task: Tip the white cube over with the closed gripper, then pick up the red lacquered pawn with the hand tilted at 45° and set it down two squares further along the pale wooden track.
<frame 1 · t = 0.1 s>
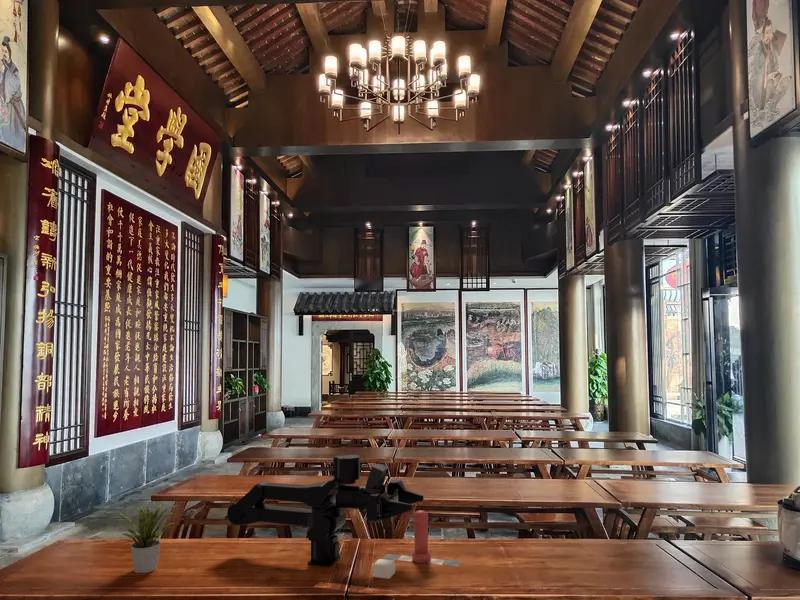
hand: (417, 502, 153), 17 cm above the table, tool horizontal, fingers open, 9 cm apart
track board: (421, 564, 157), on the table
house plant: (150, 570, 156), on the table
pawn: (421, 560, 157), point 1 cm above the table, touching track board
white cube: (384, 579, 147), on the table
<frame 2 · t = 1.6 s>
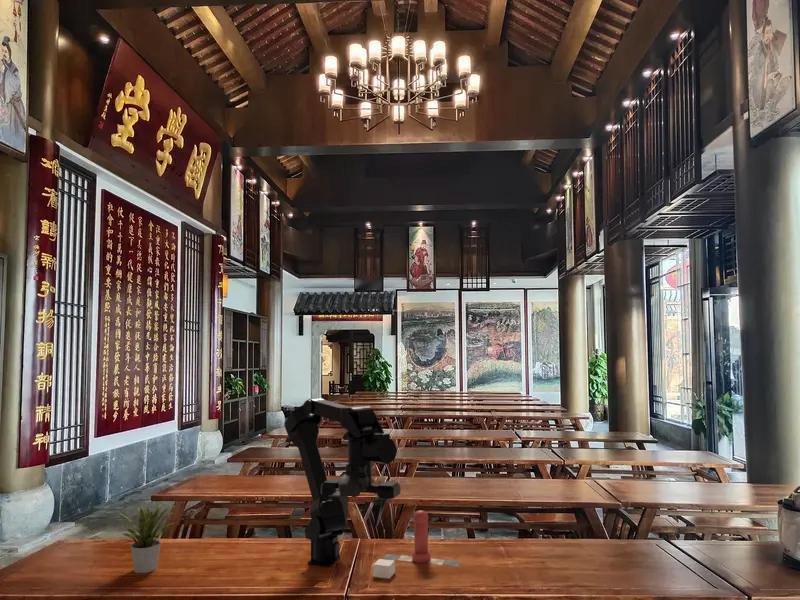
hand: (360, 524, 150), 12 cm above the table, tool pointing down, fingers open, 8 cm apart
nothing on the table moved.
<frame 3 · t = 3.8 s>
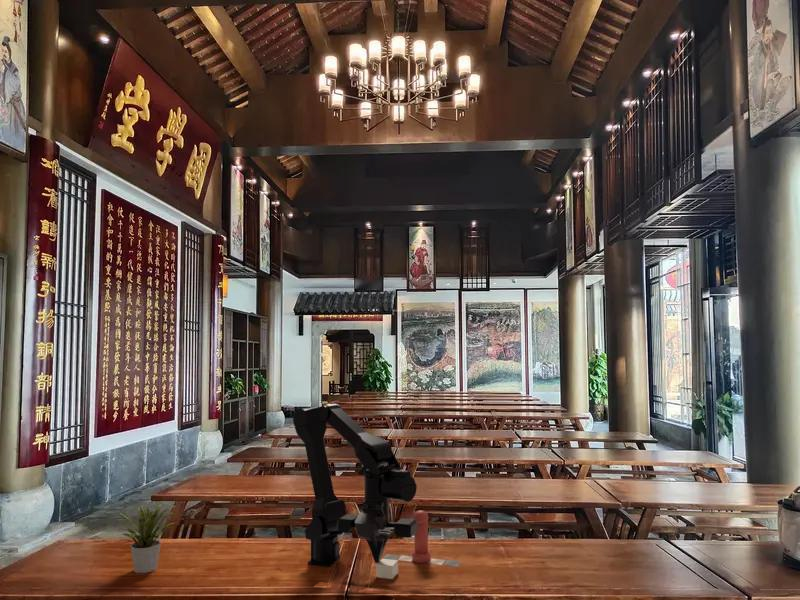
hand: (377, 562, 148), 4 cm above the table, tool pointing down, fingers closed
white cube: (387, 579, 147), on the table, touching gripper
everything else where it was.
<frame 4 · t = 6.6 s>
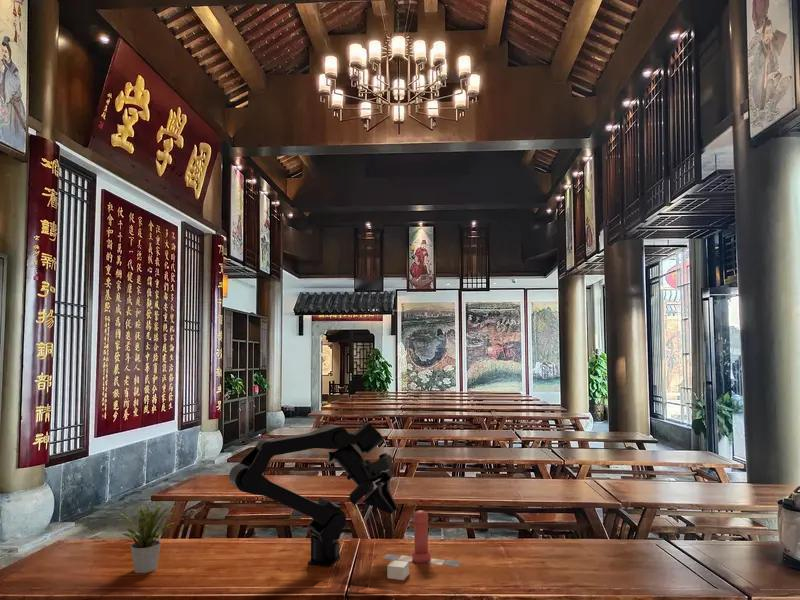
hand: (394, 511, 160), 13 cm above the table, tool tilted 45°, fingers open, 3 cm apart
white cube: (398, 581, 146), on the table
everything else where it was.
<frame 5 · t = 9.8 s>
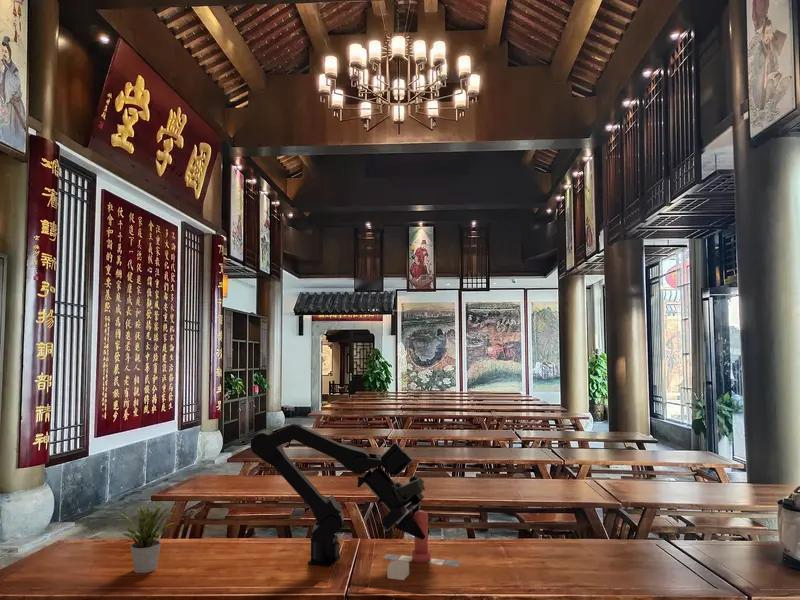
hand: (426, 536, 157), 7 cm above the table, tool tilted 45°, fingers closed on pawn, 3 cm apart
pawn: (421, 560, 157), point 1 cm above the table, touching gripper, track board
everything else where it was.
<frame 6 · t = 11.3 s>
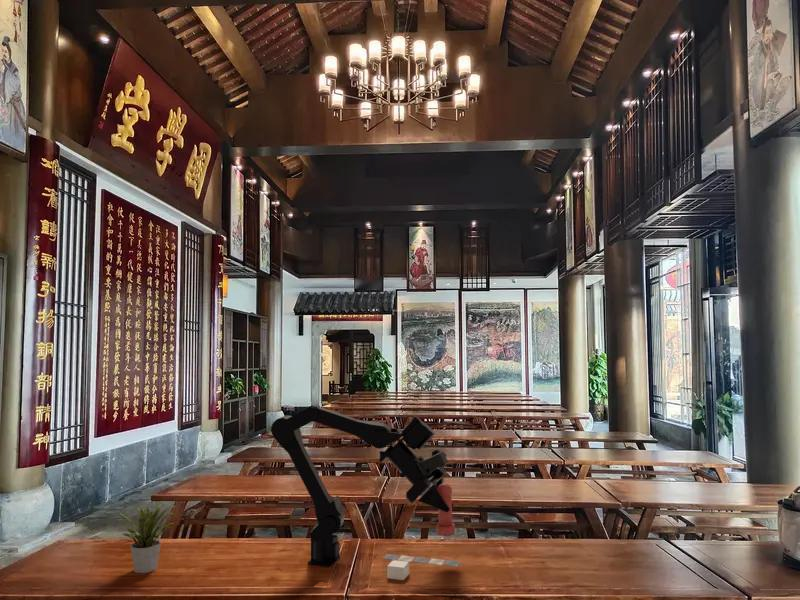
hand: (450, 509, 156), 14 cm above the table, tool tilted 45°, fingers closed on pawn, 3 cm apart
pawn: (445, 533, 156), point 8 cm above the table, touching gripper
everything else where it was.
when the fingers open (8 cm above the table, at t = 13.0 s): pawn stays where it is, resting on track board.
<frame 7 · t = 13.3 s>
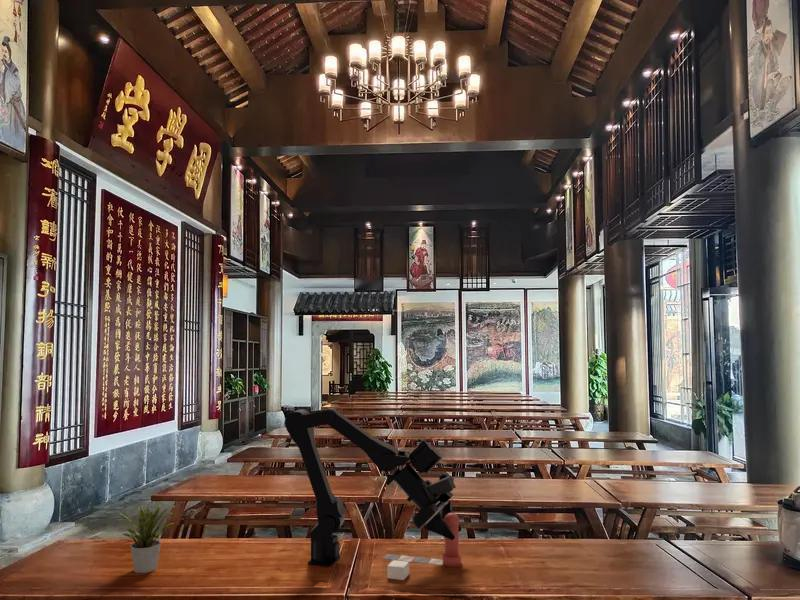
hand: (457, 534, 154), 8 cm above the table, tool tilted 45°, fingers open, 7 cm apart
pawn: (452, 563, 154), point 1 cm above the table, touching track board
everything else where it was.
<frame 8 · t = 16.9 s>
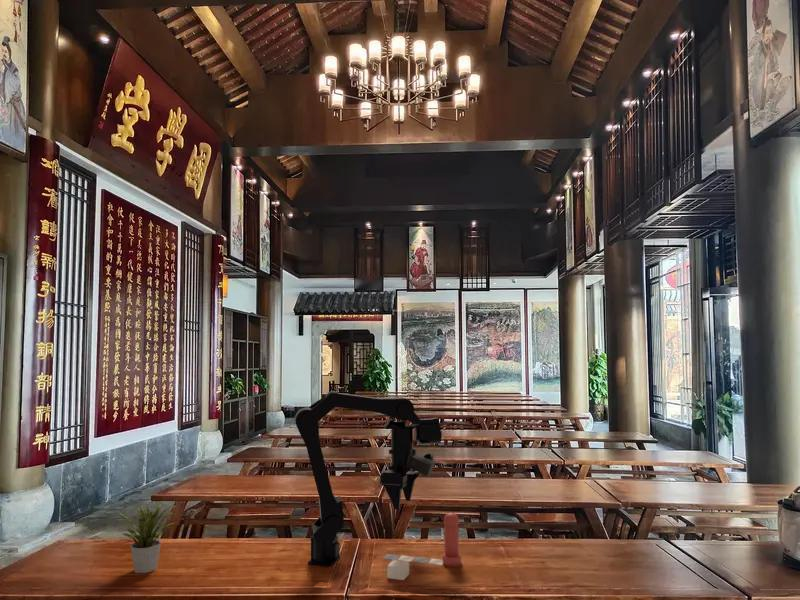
hand: (402, 505, 165), 13 cm above the table, tool pointing down, fingers open, 9 cm apart
nothing on the table moved.
at the end: pawn 0.1 cm from the target spot, point 1.1 cm above the table; pawn tilted 0°; the gripper is holding nothing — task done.
